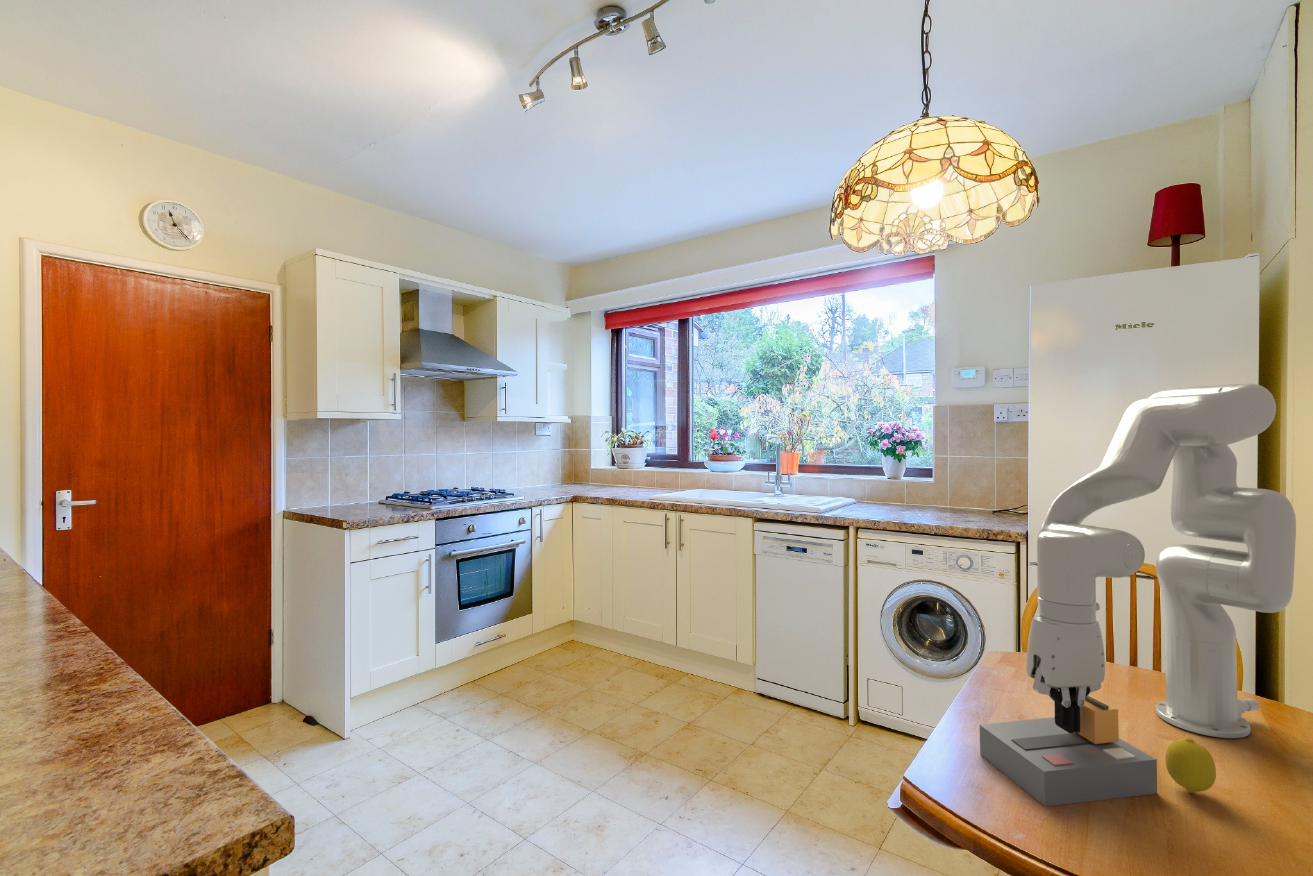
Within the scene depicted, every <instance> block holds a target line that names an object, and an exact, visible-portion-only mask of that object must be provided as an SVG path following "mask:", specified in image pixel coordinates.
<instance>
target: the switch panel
mask: <svg viewBox="0 0 1313 876" xmlns="http://www.w3.org/2000/svg"><path fill="white" fill-rule="evenodd" d="M979 746H980V747H979V753H980V754H979V755H980V756H981V757H983V758H984V759H985V760H986V761H988V763H991V764H992V765H993V766H994V768H996V769H998V771H1000V772H1002V774H1004V775H1005V776H1006V777H1007V778H1009V779H1010V780H1011V781H1013V782H1014V783H1015V784H1016V785H1017V786H1019V787H1020V788H1021V789H1023V791H1025V792H1026V793H1027V794H1028V795H1030V796H1031V797H1033V798H1034V799H1035V800H1036V801H1038V803H1039V804H1041V805H1043V806H1044V807H1053V806H1062V805H1069V804H1079V803H1087V802H1094V801H1104V800H1112V799H1114V800H1115V799H1121V798H1129V797H1131V798H1132V797H1138V796H1146V795H1155V794H1156V795H1157V794H1158V767H1157V766H1158V764H1157V763H1158V761H1157V759H1156V758H1155V757H1153V756H1152V755H1149V754H1148V753H1146V752H1145V751H1142V750H1140V749H1139V748H1137V747H1136V746H1134V745H1132V744H1130V743H1128V742H1127V741H1126V740H1123V739H1122V738H1120V737H1119V742H1109V743H1099V744H1094V743H1093V742H1091V741H1089V740H1088V739H1086V738H1085V737H1083V736H1081V735H1080V734H1078V733H1075V732H1074V733H1068V732H1067V731H1065V730H1063V729H1062V728H1060V727H1058V726H1057V725H1056V724H1055V716H1054V717H1044V718H1043V717H1042V718H1035V719H1023V720H1013V721H1004V722H994V723H993V722H991V723H982V724H981V723H980V724H979Z"/></svg>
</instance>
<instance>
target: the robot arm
mask: <svg viewBox="0 0 1313 876" xmlns="http://www.w3.org/2000/svg"><path fill="white" fill-rule="evenodd" d="M1276 413H1277V404H1276V400H1275V398H1274V395H1273V394H1272V392H1271V391H1270V390H1268V388H1266V387H1264V386H1262V385H1261V384H1258V383H1257V384H1256V383H1239V384H1222V385H1221V384H1219V385H1208V386H1207V385H1204V386H1201V385H1200V386H1188V387H1187V386H1186V387H1178V388H1176V387H1175V388H1170V389H1169V388H1168V389H1164V390H1161V391H1160V390H1159V391H1156V392H1155V393H1153V394H1151V395H1150V396H1149V397H1145V398H1141V399H1139V400H1136V401H1134V402H1132V403H1131V404H1130V405H1129V406H1128V407H1127V408H1126V410H1125V411H1124V413H1123V416H1122V418H1121V420H1120V423H1119V424H1118V427H1117V429H1116V431H1115V433H1114V436H1113V438H1112V439H1111V442H1110V444H1109V446H1108V449H1107V451H1106V453H1105V455H1104V457H1103V459H1102V462H1101V463H1100V465H1099V467H1098V468H1097V469H1095V470H1093V471H1092V472H1090V473H1087V474H1086V475H1085V476H1083V477H1081V478H1080V479H1077V481H1075V482H1073V484H1072V485H1070V486H1069V487H1068V488H1066V489H1065V490H1064V491H1062V492H1061V493H1059V495H1058V496H1057V497H1055V499H1054V500H1053V502H1052V503H1051V505H1050V506H1049V509H1048V510H1047V513H1046V515H1045V517H1044V520H1043V521H1042V524H1041V525H1040V529H1039V532H1038V536H1037V542H1036V565H1037V566H1036V567H1037V568H1036V570H1037V571H1036V573H1037V574H1036V575H1037V577H1036V580H1037V583H1036V585H1037V587H1036V588H1037V616H1033V617H1032V620H1031V624H1030V628H1029V633H1028V640H1027V647H1026V648H1027V649H1026V650H1027V651H1026V673H1027V676H1028V677H1030V678H1032V679H1034V680H1033V684H1032V690H1033V691H1034V692H1036V693H1039V694H1041V695H1046V696H1049V697H1050V700H1052V701H1053V702H1054V717H1055V724H1056V725H1057V726H1058V727H1060V728H1062V729H1063V730H1065V731H1067V732H1068V733H1074V732H1075V733H1080V707H1081V706H1083V705H1084V704H1085V698H1086V697H1087V696H1088V695H1090V693H1093V692H1097V691H1099V690H1101V689H1102V684H1103V683H1104V681H1105V677H1106V674H1105V673H1106V658H1105V648H1104V641H1103V636H1102V631H1101V625H1100V623H1099V621H1097V611H1099V610H1100V609H1101V608H1100V606H1101V605H1100V604H1099V603H1098V602H1097V596H1096V594H1097V593H1096V592H1097V591H1096V588H1097V586H1096V580H1097V578H1112V579H1113V578H1114V579H1121V578H1126V577H1130V576H1132V575H1134V574H1135V573H1137V572H1138V571H1139V570H1141V568H1142V566H1143V564H1144V562H1145V558H1146V556H1145V555H1146V551H1145V549H1144V545H1143V543H1142V542H1141V541H1140V539H1138V538H1137V536H1135V535H1133V534H1132V533H1129V532H1127V531H1124V530H1121V529H1116V528H1108V527H1102V526H1095V525H1094V526H1093V525H1086V524H1082V522H1084V520H1085V519H1087V517H1089V516H1090V515H1092V514H1093V513H1095V512H1097V511H1099V510H1102V509H1103V508H1106V507H1108V506H1109V507H1110V506H1112V505H1115V504H1118V503H1123V502H1126V501H1127V502H1128V501H1130V500H1134V499H1138V498H1140V497H1145V496H1147V495H1149V494H1150V495H1151V494H1153V493H1154V492H1157V490H1159V489H1160V488H1161V486H1162V484H1163V481H1164V480H1165V477H1166V474H1167V472H1168V470H1169V467H1170V465H1171V464H1172V463H1173V464H1172V465H1173V467H1172V484H1171V485H1172V487H1171V500H1170V501H1171V504H1170V505H1171V506H1170V518H1171V523H1172V526H1173V528H1174V529H1175V531H1176V532H1179V533H1180V534H1182V535H1185V536H1189V537H1192V538H1193V537H1194V538H1199V539H1207V540H1213V541H1221V542H1229V543H1230V542H1231V543H1237V544H1245V545H1246V548H1247V551H1240V550H1232V549H1227V548H1219V547H1214V546H1213V547H1212V546H1204V545H1198V544H1175V545H1171V546H1168V547H1166V548H1165V549H1163V550H1161V552H1160V553H1159V554H1158V556H1157V559H1156V562H1155V563H1156V564H1155V567H1156V568H1155V569H1156V570H1155V571H1156V577H1157V580H1158V585H1159V588H1160V592H1161V597H1162V602H1163V603H1162V604H1163V616H1164V652H1165V654H1164V655H1165V656H1164V657H1165V658H1164V659H1165V697H1166V698H1165V700H1161V701H1159V702H1157V703H1155V713H1156V715H1157V716H1159V718H1160V719H1162V720H1163V721H1165V722H1166V723H1169V724H1171V725H1172V726H1175V727H1177V728H1180V729H1183V730H1185V731H1188V732H1191V733H1196V734H1199V735H1203V736H1209V737H1213V738H1221V739H1222V738H1223V739H1240V738H1241V739H1242V738H1245V737H1247V736H1249V735H1250V734H1251V725H1250V723H1249V722H1248V721H1247V720H1246V719H1245V718H1243V716H1242V715H1243V714H1244V713H1245V712H1250V711H1251V712H1252V711H1259V709H1260V705H1259V702H1257V700H1256V699H1254V698H1242V699H1238V670H1237V669H1238V667H1237V666H1238V665H1237V664H1238V663H1237V632H1236V627H1235V623H1233V622H1234V621H1233V620H1232V618H1231V616H1230V615H1229V614H1228V611H1226V609H1225V608H1224V607H1223V606H1222V605H1224V606H1229V607H1233V608H1238V609H1243V610H1249V611H1255V612H1258V613H1259V612H1260V613H1265V614H1266V613H1268V614H1271V613H1272V614H1273V613H1279V612H1281V611H1283V610H1285V609H1286V608H1287V607H1288V605H1289V603H1290V602H1291V599H1292V596H1293V589H1294V577H1295V557H1296V540H1297V539H1296V538H1297V537H1296V536H1297V518H1296V513H1295V508H1294V507H1293V505H1292V503H1291V501H1290V499H1288V497H1286V496H1285V495H1284V494H1282V493H1280V492H1279V491H1275V490H1271V489H1266V488H1255V487H1254V488H1253V487H1240V486H1239V487H1238V484H1237V475H1238V473H1237V470H1238V469H1237V468H1238V467H1237V466H1238V462H1237V461H1238V460H1237V458H1236V455H1235V454H1234V452H1233V450H1232V449H1231V448H1230V447H1229V445H1231V444H1235V443H1238V442H1241V441H1244V440H1246V439H1249V438H1252V437H1255V436H1258V435H1259V434H1261V433H1263V432H1265V431H1266V430H1267V429H1268V428H1269V427H1270V426H1271V425H1272V423H1273V422H1274V420H1275V417H1276ZM1171 462H1172V463H1171Z"/></svg>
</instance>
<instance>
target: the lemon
mask: <svg viewBox="0 0 1313 876" xmlns="http://www.w3.org/2000/svg"><path fill="white" fill-rule="evenodd" d="M1164 759H1165V762H1164V763H1165V767H1166V770H1167V772H1168V774H1169V776H1170V777H1171V778H1172V780H1173V781H1174V782H1175V783H1176V784H1178V785H1179V786H1180V787H1182V788H1184V790H1186V791H1187V793H1190V794H1195V793H1198V792H1200V793H1201V792H1205V791H1207V790H1209V789H1210V788H1211V787H1213V785H1215V781H1216V779H1217V770H1216V763H1215V761H1214V758H1213V756H1212V754H1211V753H1210V751H1209V750H1208V749H1207V748H1206V747H1205V746H1204V745H1202V744H1201V743H1200V742H1198V741H1195V740H1194V739H1193V738H1192V737H1186V738H1177V739H1174V740H1173V741H1171V742H1170V743H1169V745H1168V746H1167V749H1166V751H1165V757H1164Z"/></svg>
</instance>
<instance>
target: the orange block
mask: <svg viewBox="0 0 1313 876" xmlns="http://www.w3.org/2000/svg"><path fill="white" fill-rule="evenodd" d="M1119 732H1120V731H1119V708H1117V707H1115V706H1113V705H1111V704H1109V703H1107V702H1105V701H1103V700H1102V699H1099V698H1097V697H1095V696H1094V695H1091V694H1088V696H1087V697H1086V698H1085V704H1084V705H1083V706H1081V707H1080V733H1078V734H1080V735H1081V736H1083V737H1085V738H1086V739H1088V740H1089V741H1091V742H1093V743H1094V744H1099V743H1109V742H1119V738H1120V737H1119Z"/></svg>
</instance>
